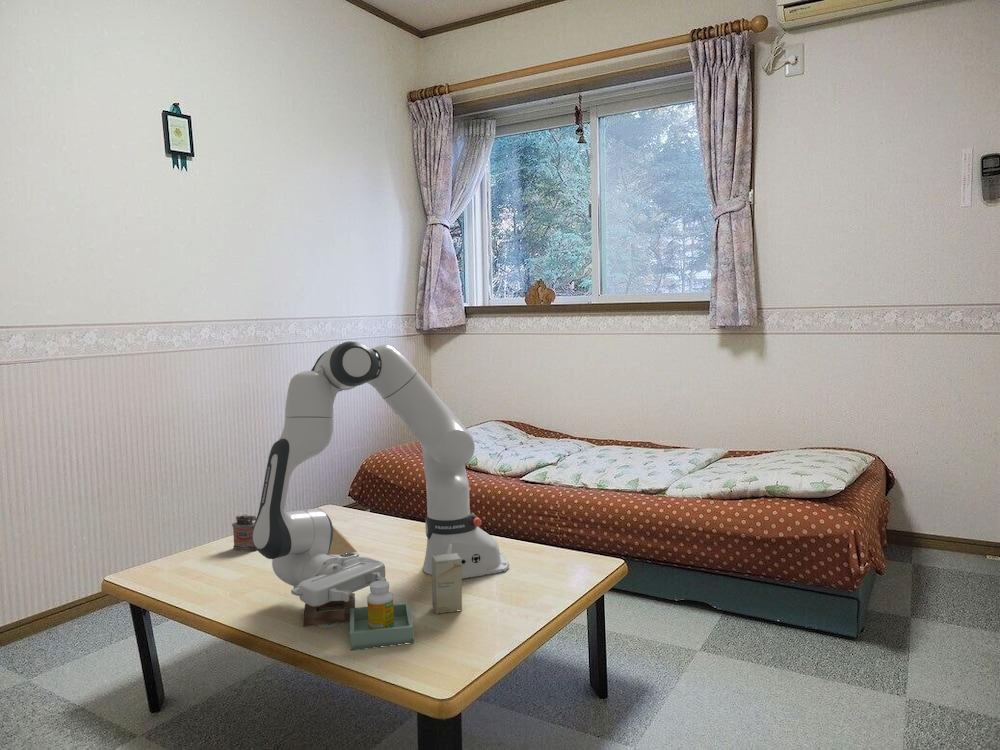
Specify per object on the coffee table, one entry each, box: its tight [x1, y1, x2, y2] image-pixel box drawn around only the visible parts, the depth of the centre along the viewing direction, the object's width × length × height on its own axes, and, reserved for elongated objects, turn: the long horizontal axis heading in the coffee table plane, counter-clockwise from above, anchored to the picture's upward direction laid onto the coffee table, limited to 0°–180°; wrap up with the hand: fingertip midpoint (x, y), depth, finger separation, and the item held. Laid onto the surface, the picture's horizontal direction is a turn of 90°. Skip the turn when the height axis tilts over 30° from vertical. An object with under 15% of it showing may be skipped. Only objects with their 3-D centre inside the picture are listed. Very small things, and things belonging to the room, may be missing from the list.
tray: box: [349, 602, 415, 651], centre depth 152 cm, size 13×13×4 cm
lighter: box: [231, 513, 258, 552], centre depth 208 cm, size 8×3×10 cm, turn 76°
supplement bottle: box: [366, 580, 394, 630], centre depth 151 cm, size 5×5×10 cm
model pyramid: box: [328, 526, 358, 555], centre depth 207 cm, size 17×17×10 cm
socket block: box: [302, 592, 356, 628], centre depth 162 cm, size 11×11×2 cm
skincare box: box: [431, 553, 463, 615], centre depth 163 cm, size 6×4×12 cm
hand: (367, 589), depth 154 cm, fingers open, 8 cm apart
